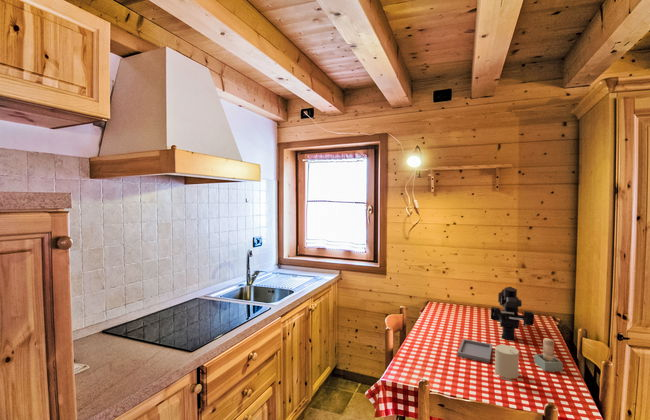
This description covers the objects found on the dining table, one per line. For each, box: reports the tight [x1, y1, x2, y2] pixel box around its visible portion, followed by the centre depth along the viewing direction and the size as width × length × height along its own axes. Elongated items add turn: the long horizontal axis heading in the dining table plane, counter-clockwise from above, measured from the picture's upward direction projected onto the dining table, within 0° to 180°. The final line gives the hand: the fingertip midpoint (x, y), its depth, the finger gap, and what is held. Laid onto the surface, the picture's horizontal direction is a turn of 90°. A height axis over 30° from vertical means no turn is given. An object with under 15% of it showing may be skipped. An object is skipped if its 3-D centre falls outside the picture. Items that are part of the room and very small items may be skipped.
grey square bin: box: [533, 353, 564, 372], centre depth 148 cm, size 8×8×5 cm
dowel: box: [542, 338, 555, 362], centre depth 148 cm, size 4×4×12 cm
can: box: [494, 344, 520, 382], centre depth 143 cm, size 9×9×12 cm
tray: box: [457, 338, 493, 364], centre depth 165 cm, size 18×14×2 cm
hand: (513, 323), depth 159 cm, fingers open, 9 cm apart
